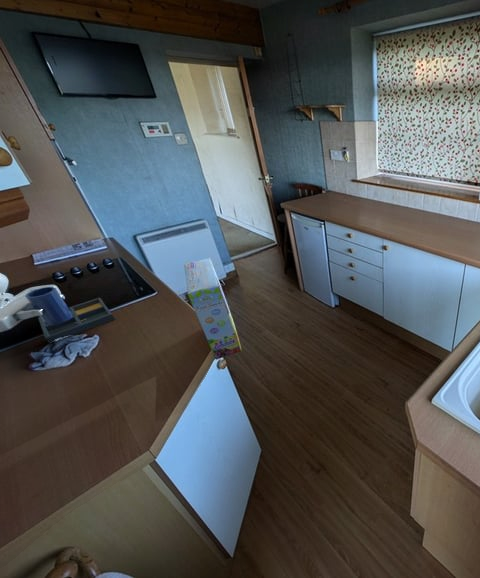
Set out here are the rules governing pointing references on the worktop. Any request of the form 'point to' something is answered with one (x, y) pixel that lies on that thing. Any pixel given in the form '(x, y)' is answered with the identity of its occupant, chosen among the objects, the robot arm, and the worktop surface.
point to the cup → (50, 305)
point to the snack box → (211, 308)
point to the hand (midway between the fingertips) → (52, 304)
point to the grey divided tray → (90, 310)
